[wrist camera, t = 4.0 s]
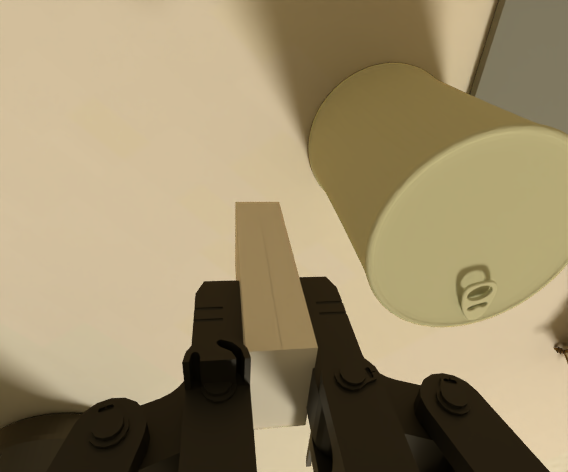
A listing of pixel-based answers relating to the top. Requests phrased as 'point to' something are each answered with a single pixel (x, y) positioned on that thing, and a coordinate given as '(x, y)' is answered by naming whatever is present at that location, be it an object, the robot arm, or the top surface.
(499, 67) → the mat
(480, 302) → the can
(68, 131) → the top surface
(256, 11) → the top surface
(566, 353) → the game die
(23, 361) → the top surface
